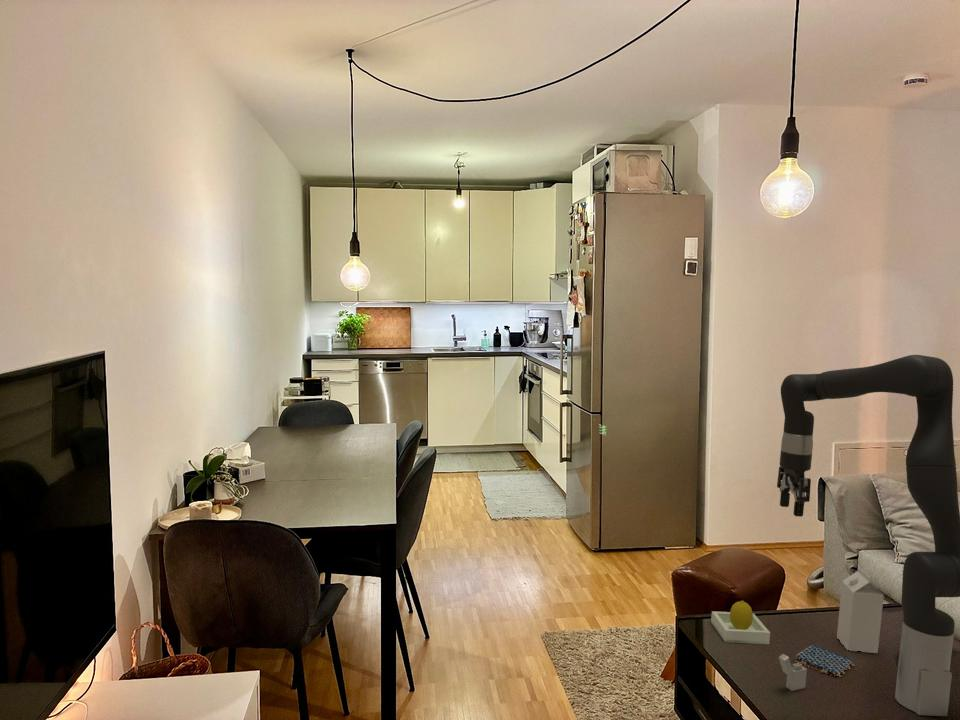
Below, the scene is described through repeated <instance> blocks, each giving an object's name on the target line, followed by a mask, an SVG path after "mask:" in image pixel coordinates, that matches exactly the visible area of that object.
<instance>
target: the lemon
mask: <svg viewBox="0 0 960 720" xmlns="http://www.w3.org/2000/svg"><path fill="white" fill-rule="evenodd" d="M729 612H730V621H731V623H732V625H733V626H734V627H735V628H737V629H740V630H746V629H748V628H749V627H750V626H751V624H752V621H753V613H754V612H753V610H752V607H751V606H750V605H749V603H747V602H745V601H744V600H740V601H736V602H735V603H733V604H732V606H731V608H730V611H729Z"/></svg>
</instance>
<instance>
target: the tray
mask: <svg viewBox="0 0 960 720" xmlns="http://www.w3.org/2000/svg"><path fill="white" fill-rule="evenodd" d="M710 617H711V619H710V623H711V624H712V626H713V627H714V629H715V630H716V632H717V633H718V634H719V636H720V637H721V639H722V640H723V641H724V643H732V644H734V643H735V644H751V645H752V644H754V645H755V644H756V645H770V643H771V642H770V640H771V631H770V630H769V629H768V628H767V627H766V626H765V625H764V624H763V622H762V621H761V620H760V619H759V618H758V616H757V615H756V614H755V613H754V612H753V621H752V624H751V626H750V627H749V628H748V629H746V630H740V629H737V628H735V627H734V626H733V625H732V623H731V621H730V611H712V610H711V616H710Z"/></svg>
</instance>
